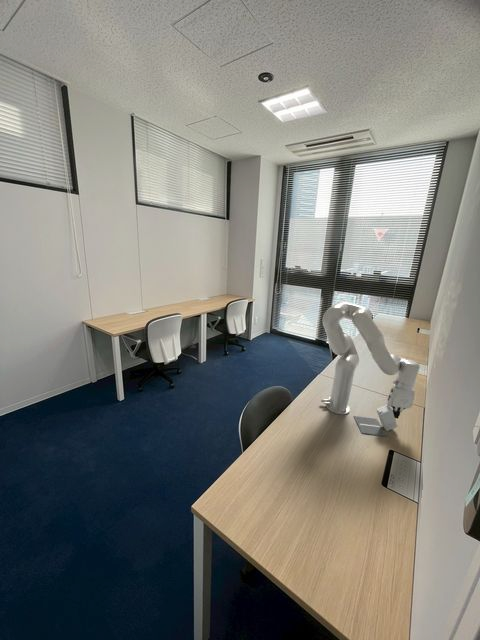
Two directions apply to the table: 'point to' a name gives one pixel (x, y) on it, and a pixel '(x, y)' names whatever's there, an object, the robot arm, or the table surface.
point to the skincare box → (387, 417)
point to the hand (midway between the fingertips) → (394, 416)
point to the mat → (369, 426)
